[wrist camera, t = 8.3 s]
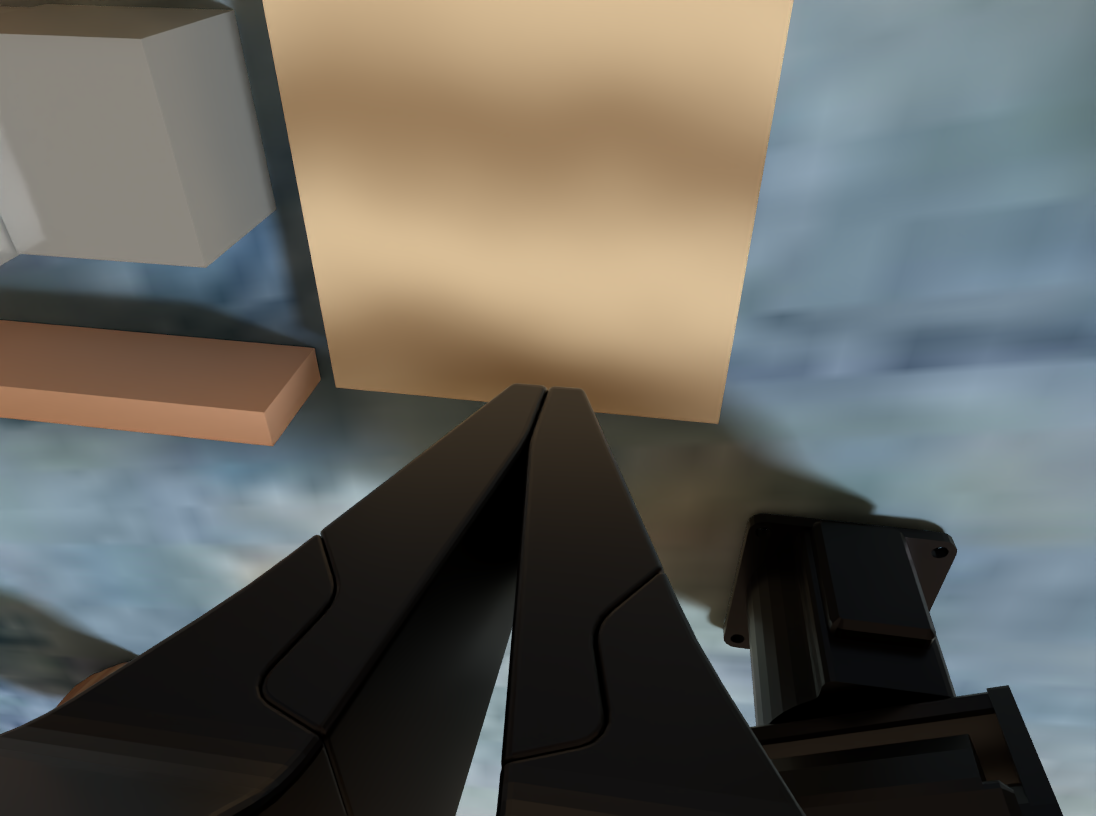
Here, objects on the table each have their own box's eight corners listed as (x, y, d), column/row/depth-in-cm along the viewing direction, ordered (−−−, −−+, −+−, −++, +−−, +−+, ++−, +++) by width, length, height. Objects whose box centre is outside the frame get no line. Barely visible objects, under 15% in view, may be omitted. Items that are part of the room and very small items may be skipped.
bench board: (716, 383, 22) (718, 423, 21) (360, 352, 23) (336, 387, 22) (821, -238, 14) (837, -252, 12) (265, -234, 15) (215, -247, 14)
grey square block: (278, 207, 21) (206, 267, 18) (116, 196, 22) (17, 253, 19) (237, 9, 18) (141, 39, 15) (50, 2, 19) (-81, 30, 16)
